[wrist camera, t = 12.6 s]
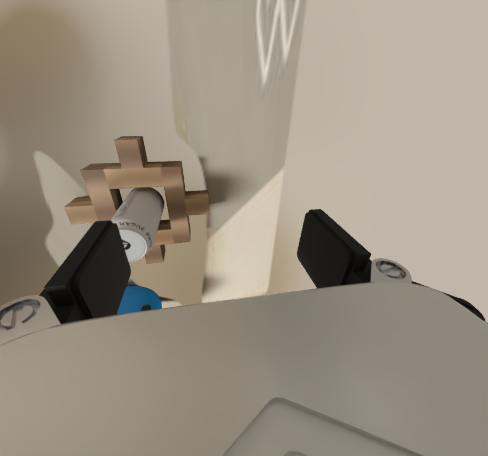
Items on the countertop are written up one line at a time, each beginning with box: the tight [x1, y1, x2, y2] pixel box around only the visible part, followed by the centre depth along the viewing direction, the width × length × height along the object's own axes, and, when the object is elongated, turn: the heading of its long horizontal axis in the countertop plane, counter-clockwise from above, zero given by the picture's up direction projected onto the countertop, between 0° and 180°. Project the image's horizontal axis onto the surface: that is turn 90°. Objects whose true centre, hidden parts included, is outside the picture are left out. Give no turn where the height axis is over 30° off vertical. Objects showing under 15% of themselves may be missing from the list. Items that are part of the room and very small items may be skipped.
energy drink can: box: [111, 187, 164, 262], centre depth 33 cm, size 6×6×15 cm
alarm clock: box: [117, 286, 162, 315], centre depth 42 cm, size 13×6×15 cm, turn 80°
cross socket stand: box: [64, 136, 210, 264], centre depth 37 cm, size 22×22×4 cm
